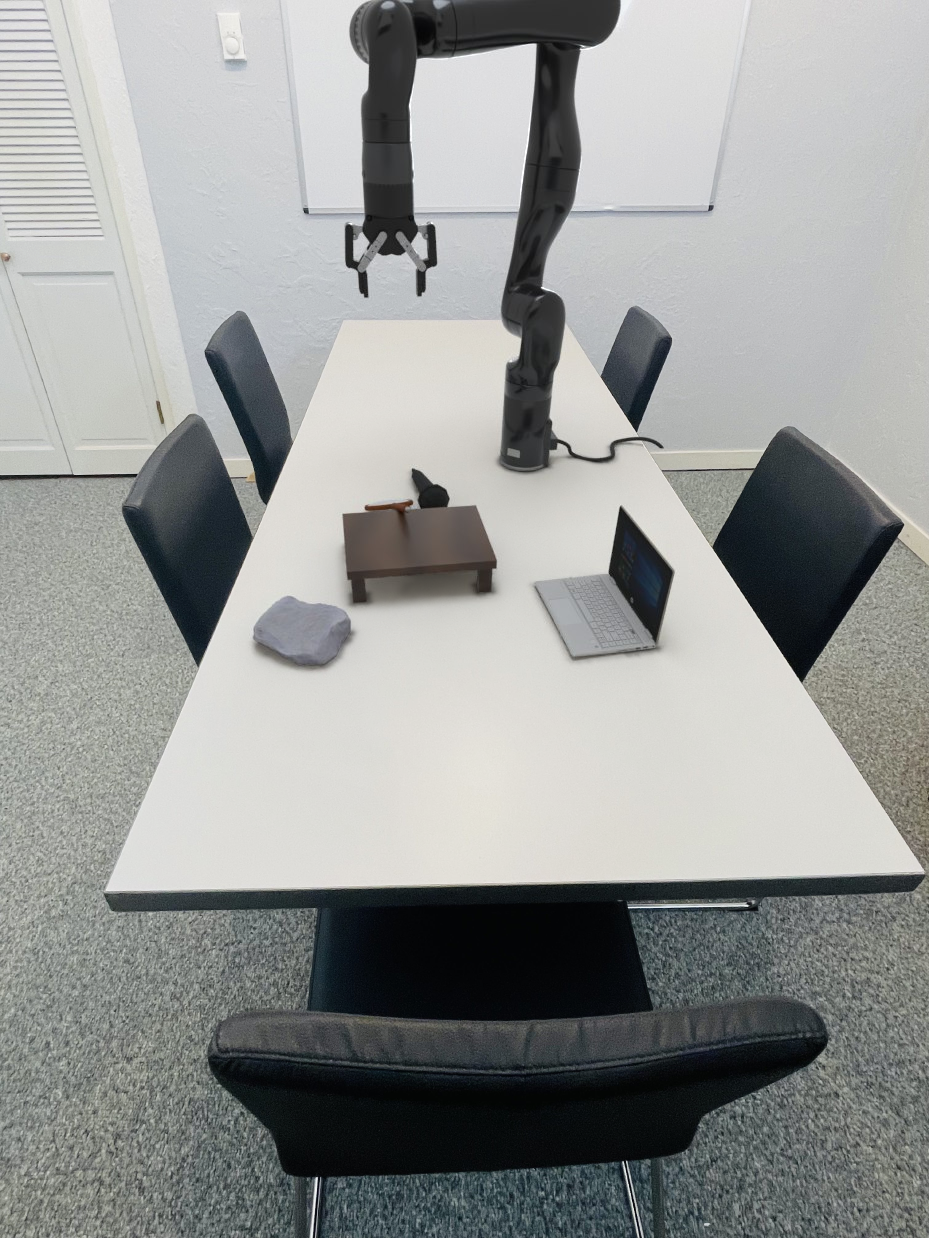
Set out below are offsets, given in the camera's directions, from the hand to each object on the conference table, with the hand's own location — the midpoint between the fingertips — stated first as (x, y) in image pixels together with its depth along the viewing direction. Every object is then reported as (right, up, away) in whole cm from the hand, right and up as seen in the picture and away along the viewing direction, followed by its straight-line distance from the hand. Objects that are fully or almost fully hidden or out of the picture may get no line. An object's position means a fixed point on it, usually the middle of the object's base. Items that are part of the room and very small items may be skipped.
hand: (392, 296), depth 115 cm
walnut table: (+4, -44, -1) cm, 44 cm away
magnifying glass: (+3, -35, -4) cm, 35 cm away
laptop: (+30, -52, -10) cm, 61 cm away
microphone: (+5, -29, +19) cm, 35 cm away
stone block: (-11, -55, -16) cm, 59 cm away
